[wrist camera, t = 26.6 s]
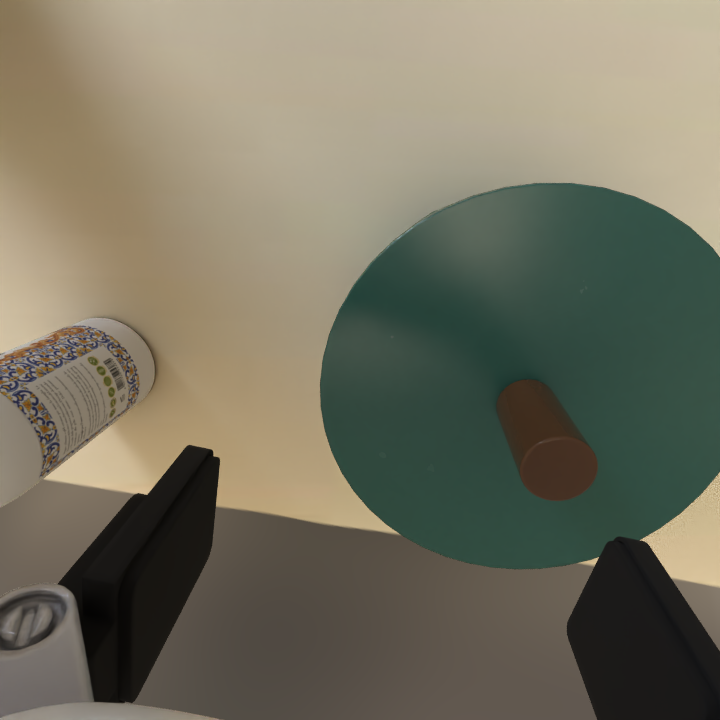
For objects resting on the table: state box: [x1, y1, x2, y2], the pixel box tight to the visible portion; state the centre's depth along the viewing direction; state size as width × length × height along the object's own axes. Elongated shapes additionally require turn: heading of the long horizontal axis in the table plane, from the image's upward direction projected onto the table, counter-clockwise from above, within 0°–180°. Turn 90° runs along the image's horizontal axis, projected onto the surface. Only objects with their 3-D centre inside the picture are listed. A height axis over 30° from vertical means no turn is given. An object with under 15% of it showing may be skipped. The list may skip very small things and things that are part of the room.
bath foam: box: [0, 318, 155, 507], centre depth 25 cm, size 7×7×20 cm
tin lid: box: [320, 183, 720, 569], centre depth 18 cm, size 17×17×6 cm
